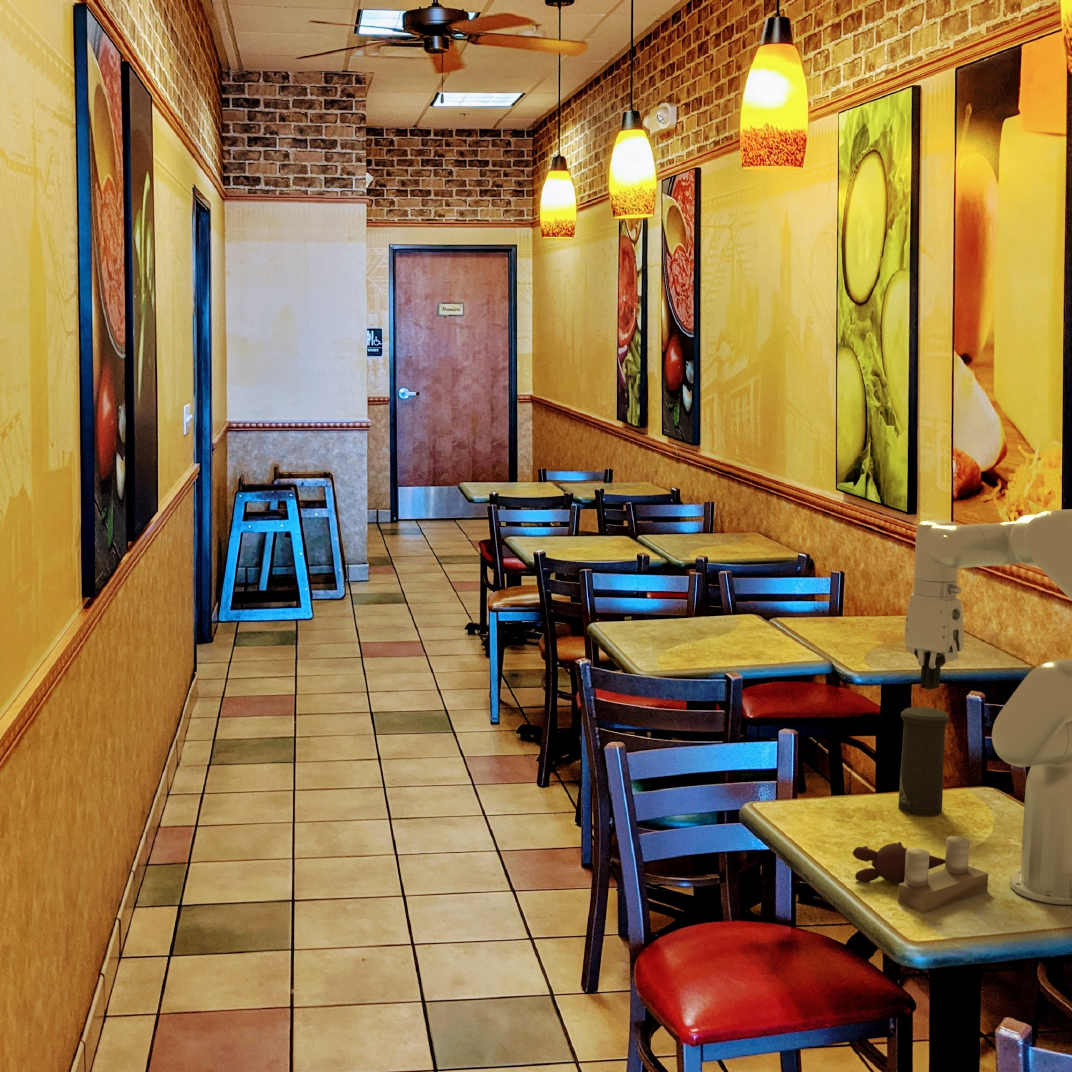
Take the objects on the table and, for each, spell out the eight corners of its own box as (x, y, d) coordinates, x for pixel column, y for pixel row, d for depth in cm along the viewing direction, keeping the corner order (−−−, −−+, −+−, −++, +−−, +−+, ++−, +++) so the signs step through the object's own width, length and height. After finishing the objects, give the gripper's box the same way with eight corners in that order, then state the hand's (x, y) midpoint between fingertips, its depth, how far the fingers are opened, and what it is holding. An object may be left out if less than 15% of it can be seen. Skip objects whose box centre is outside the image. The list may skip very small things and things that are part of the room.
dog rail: (987, 890, 213) (990, 844, 212) (923, 912, 204) (925, 863, 203) (957, 879, 218) (960, 833, 217) (893, 900, 209) (896, 852, 208)
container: (919, 799, 259) (924, 701, 256) (953, 813, 251) (959, 712, 249) (886, 806, 255) (891, 706, 252) (921, 820, 247) (926, 717, 244)
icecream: (938, 837, 220) (848, 841, 221) (948, 841, 213) (855, 846, 214) (942, 879, 219) (852, 883, 220) (952, 885, 212) (859, 889, 213)
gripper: (983, 593, 232) (977, 694, 234) (915, 581, 244) (910, 677, 246) (956, 596, 227) (950, 699, 230) (888, 584, 239) (883, 682, 242)
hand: (929, 687), depth 238 cm, fingers closed
